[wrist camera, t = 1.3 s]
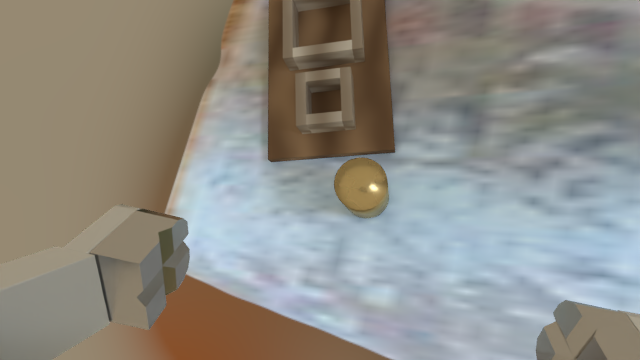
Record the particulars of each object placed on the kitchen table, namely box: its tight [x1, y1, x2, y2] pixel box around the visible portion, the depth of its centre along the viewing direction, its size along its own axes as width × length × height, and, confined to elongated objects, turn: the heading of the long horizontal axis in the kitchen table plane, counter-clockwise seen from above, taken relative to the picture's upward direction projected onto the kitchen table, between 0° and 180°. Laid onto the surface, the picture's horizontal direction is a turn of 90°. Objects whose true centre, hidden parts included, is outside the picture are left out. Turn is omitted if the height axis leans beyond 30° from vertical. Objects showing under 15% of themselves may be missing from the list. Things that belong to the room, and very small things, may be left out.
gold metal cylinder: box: [334, 158, 389, 218], centre depth 39 cm, size 5×5×8 cm
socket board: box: [268, 0, 395, 162], centre depth 44 cm, size 15×22×4 cm
